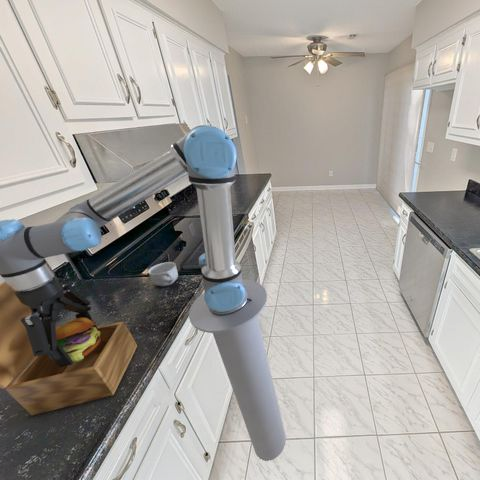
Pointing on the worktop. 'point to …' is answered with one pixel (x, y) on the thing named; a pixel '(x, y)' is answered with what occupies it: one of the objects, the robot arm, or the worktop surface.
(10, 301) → the lid
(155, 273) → the teacup
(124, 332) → the chest
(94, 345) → the cheeseburger
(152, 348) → the worktop surface
